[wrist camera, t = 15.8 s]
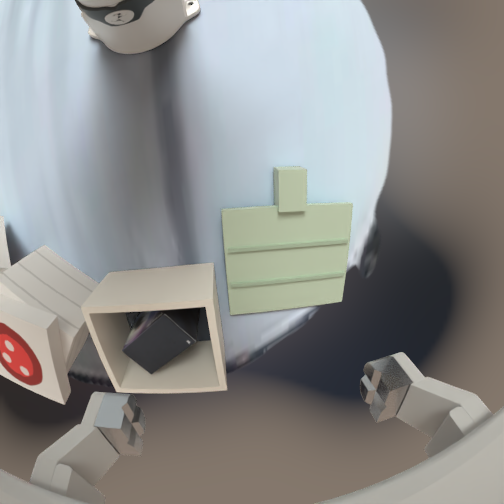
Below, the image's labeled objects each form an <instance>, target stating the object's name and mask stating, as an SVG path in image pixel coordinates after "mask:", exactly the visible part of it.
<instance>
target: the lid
mask: <svg viewBox="0 0 504 504" xmlns="http://www.w3.org/2000/svg"><path fill="white" fill-rule="evenodd" d="M306 200H307V169H305V168H302V167H300V166H293V167H274V205H272V206H256V207H241V208H228V209H221V212H222V226H223V238H224V251H225V263H226V274H227V285H228V296H229V306H230V315H236V314H246V313H256V312H266V311H275V310H283V309H292V308H300V307H307V306H315V305H322V304H328V303H335V302H341V301H342V296H343V289H344V282H345V275H346V267H347V259H348V251H349V242H350V232H351V220H352V208H353V204H352V203H350V202H345V203H314V204H306Z"/></svg>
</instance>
